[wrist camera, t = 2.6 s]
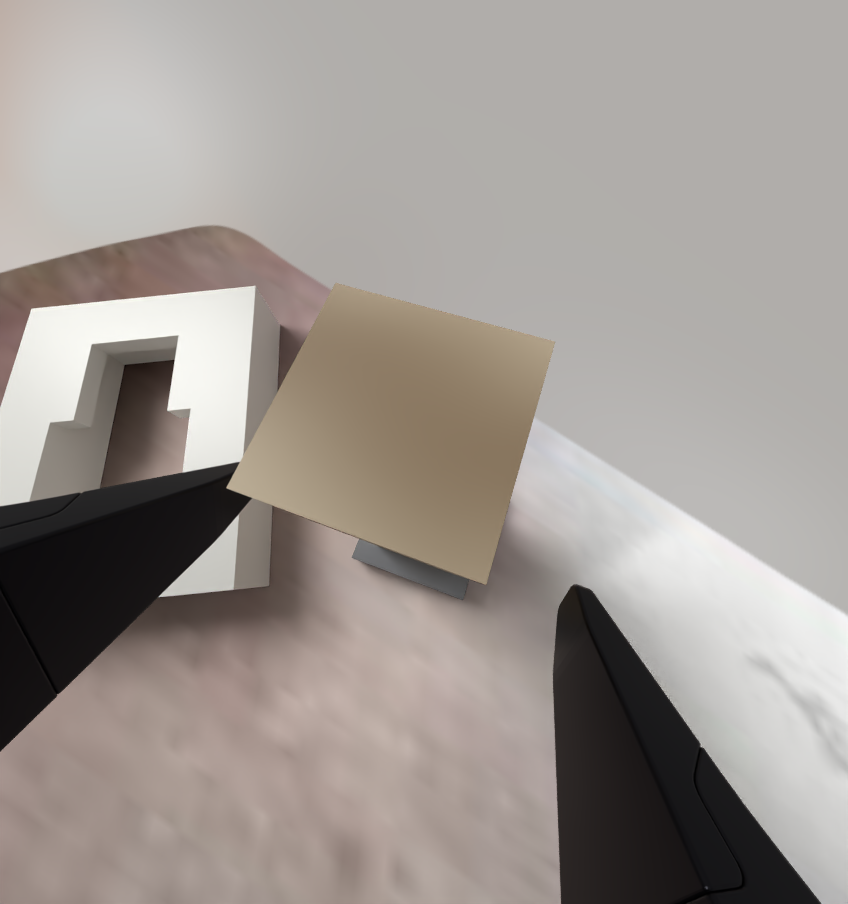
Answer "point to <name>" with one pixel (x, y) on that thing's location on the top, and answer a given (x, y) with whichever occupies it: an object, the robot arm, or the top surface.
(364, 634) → the top surface
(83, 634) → the robot arm
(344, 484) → the keyhole post
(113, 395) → the keyhole plate
